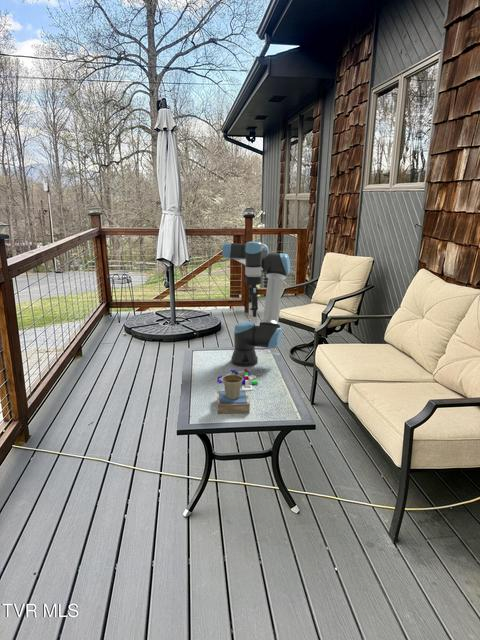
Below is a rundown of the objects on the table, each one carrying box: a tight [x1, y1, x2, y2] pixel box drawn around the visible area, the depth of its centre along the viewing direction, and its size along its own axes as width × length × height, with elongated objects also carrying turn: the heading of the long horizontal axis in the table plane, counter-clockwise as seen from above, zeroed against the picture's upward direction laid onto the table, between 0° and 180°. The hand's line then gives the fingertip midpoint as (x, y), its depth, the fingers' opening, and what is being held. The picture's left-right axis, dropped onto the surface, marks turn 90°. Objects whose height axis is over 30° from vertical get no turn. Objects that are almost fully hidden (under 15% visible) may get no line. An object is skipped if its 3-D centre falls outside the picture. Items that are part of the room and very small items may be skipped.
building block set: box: [216, 368, 259, 392], centre depth 220 cm, size 25×20×4 cm
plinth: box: [216, 389, 251, 415], centre depth 192 cm, size 14×14×5 cm
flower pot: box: [222, 374, 244, 399], centre depth 190 cm, size 9×9×9 cm
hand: (252, 319), depth 205 cm, fingers open, 13 cm apart
